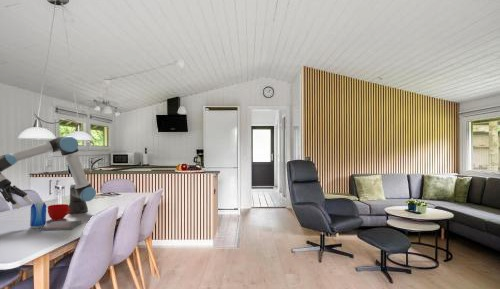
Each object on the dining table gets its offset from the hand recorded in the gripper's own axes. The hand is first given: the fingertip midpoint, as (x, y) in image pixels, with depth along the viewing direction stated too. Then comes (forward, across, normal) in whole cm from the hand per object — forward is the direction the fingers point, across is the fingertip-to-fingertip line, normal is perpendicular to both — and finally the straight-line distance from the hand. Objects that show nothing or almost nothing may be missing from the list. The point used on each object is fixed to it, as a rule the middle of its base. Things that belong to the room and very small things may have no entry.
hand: (25, 205), depth 194 cm
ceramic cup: (+19, -22, -2) cm, 29 cm away
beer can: (+16, -1, -5) cm, 16 cm away
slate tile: (+26, 0, +6) cm, 27 cm away
